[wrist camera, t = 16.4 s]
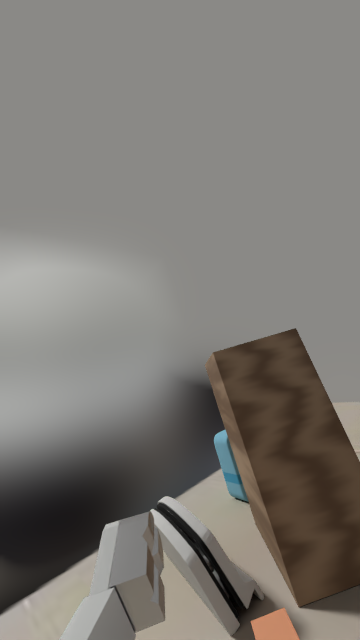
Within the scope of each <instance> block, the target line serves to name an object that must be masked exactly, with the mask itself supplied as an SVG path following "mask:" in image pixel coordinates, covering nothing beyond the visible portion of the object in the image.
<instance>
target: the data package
mask: <svg viewBox="0 0 360 640" xmlns="http://www.w3.org/2000/svg"><path fill="white" fill-rule="evenodd" d="M214 444H215V448H216V451H217V454H218V458H219V461H220V464H221V468H222V471H223V474H224V478H225V481H226V484H227V488H228V491H229V493H230V495H231V496H233V497H235V498H238V499H241V500H244V501H247V502H249V501H248V498H247V495H246V492H245V489H244V486H243V482H242V479H241V476H240V473H239V470H238V467H237V464H236V461H235V457H234V454H233V451H232V448H231V445H230V442H229V439H228V436H227V432H226V430H224V431H222V432H219V433H217V434H216V435H215V438H214Z"/></svg>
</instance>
